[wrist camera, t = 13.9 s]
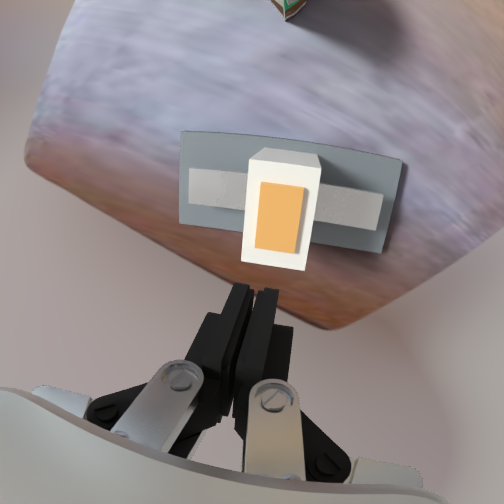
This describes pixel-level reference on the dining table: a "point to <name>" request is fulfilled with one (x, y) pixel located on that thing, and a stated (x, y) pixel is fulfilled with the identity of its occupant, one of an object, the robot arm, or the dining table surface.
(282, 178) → the block
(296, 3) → the food container
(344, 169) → the mount plate
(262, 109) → the dining table surface
